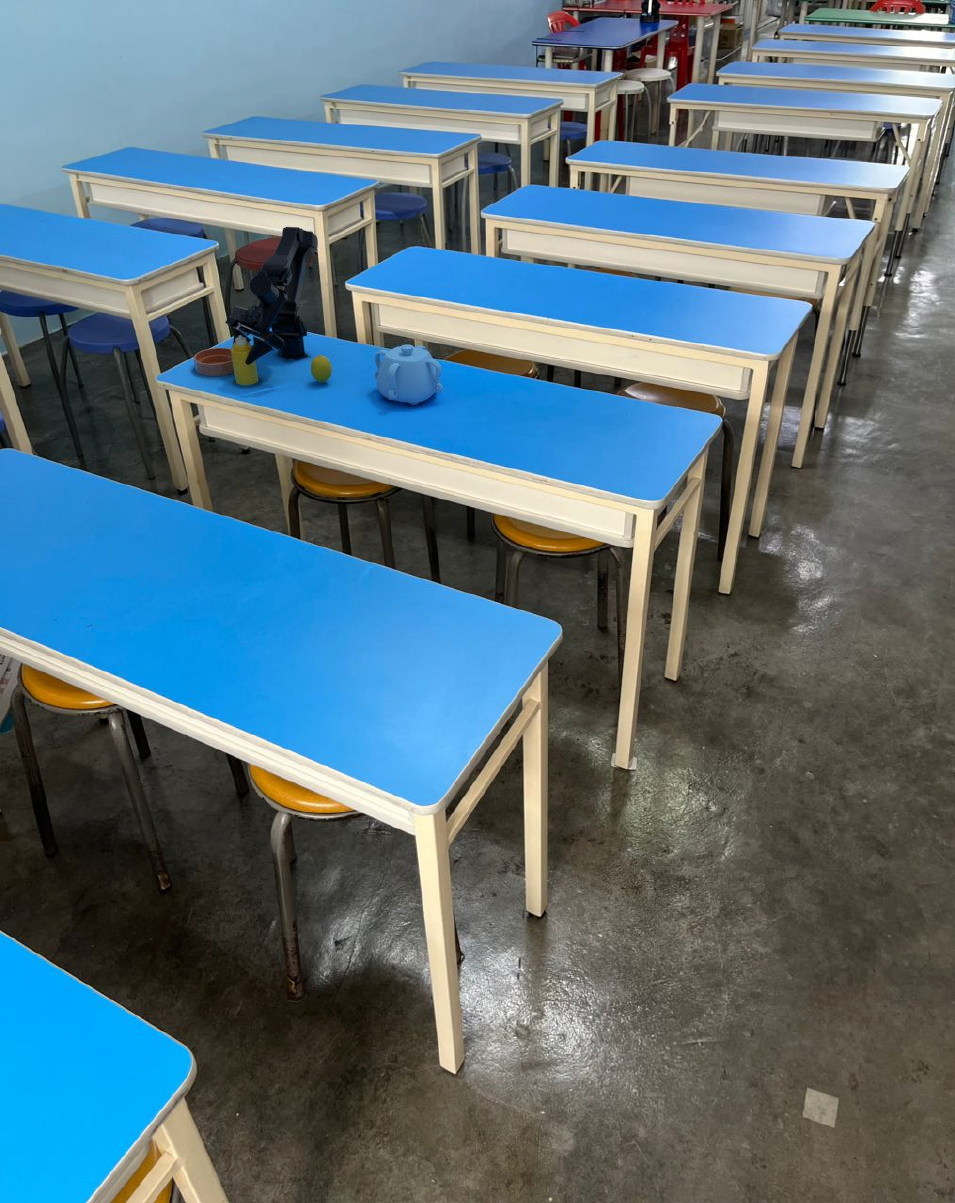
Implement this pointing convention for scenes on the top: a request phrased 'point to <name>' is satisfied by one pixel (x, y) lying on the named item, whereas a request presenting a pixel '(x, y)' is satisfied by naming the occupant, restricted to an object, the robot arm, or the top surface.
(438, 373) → the decorative pot
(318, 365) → the lemon
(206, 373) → the bowl
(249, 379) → the mustard bottle
